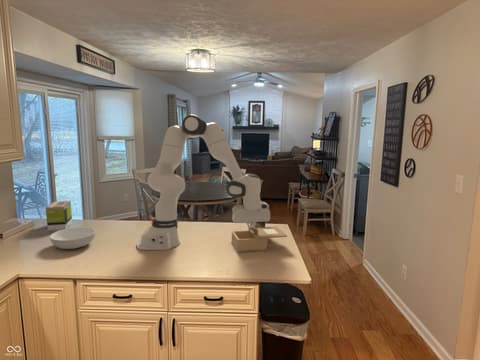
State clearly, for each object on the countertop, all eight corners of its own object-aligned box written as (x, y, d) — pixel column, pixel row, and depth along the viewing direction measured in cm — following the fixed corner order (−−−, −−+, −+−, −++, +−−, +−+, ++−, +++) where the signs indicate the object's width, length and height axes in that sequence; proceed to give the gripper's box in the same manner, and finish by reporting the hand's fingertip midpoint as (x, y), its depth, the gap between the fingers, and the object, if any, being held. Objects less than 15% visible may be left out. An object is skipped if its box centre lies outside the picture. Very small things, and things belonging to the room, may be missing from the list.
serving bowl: (75, 236, 177) (74, 225, 176) (104, 242, 170) (104, 229, 169) (40, 249, 157) (39, 236, 156) (72, 256, 151) (72, 242, 150)
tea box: (55, 223, 198) (53, 200, 196) (72, 223, 201) (71, 200, 198) (47, 231, 184) (45, 206, 182) (66, 230, 187) (64, 206, 184)
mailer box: (237, 253, 160) (237, 239, 159) (231, 243, 174) (231, 231, 172) (266, 251, 164) (267, 238, 163) (259, 241, 177) (259, 229, 176)
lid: (255, 238, 161) (256, 232, 160) (248, 229, 175) (248, 223, 175) (286, 236, 165) (287, 231, 164) (277, 227, 179) (277, 222, 179)
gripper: (233, 206, 160) (233, 232, 162) (271, 205, 165) (270, 230, 167) (231, 203, 166) (230, 228, 168) (267, 202, 171) (266, 226, 173)
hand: (250, 229), depth 168 cm, fingers closed
